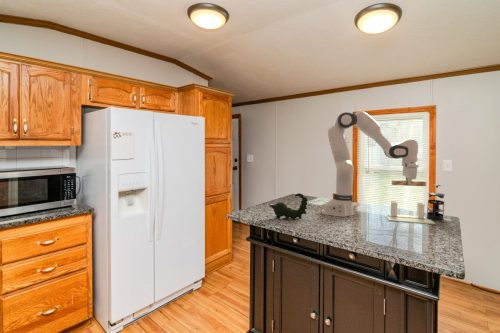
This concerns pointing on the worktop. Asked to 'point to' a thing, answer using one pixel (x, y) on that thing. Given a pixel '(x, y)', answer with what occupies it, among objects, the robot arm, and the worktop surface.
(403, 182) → the rail
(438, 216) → the french press
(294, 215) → the toy figurine
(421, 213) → the rack
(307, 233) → the worktop surface
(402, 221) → the mat
